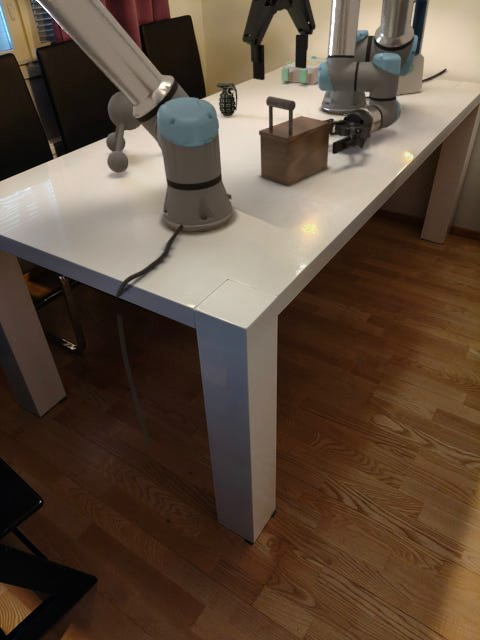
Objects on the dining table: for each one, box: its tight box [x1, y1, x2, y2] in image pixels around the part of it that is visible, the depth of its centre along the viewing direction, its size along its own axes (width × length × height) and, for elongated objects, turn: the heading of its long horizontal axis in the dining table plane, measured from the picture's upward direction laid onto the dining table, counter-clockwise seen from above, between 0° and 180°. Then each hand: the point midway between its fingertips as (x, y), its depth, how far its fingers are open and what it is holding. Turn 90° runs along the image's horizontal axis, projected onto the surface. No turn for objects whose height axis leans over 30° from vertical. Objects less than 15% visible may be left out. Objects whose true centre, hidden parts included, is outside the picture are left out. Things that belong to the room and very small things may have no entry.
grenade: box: [215, 82, 238, 117], centre depth 166 cm, size 7×6×10 cm
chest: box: [259, 127, 330, 186], centre depth 122 cm, size 15×9×10 cm, turn 134°
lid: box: [258, 95, 330, 143], centre depth 116 cm, size 16×9×8 cm, turn 134°
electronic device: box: [396, 0, 430, 96], centre depth 174 cm, size 12×8×30 cm, turn 105°
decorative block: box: [281, 55, 328, 85], centre depth 206 cm, size 26×6×20 cm
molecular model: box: [105, 90, 142, 174], centre depth 130 cm, size 24×22×30 cm
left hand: (280, 73), depth 108 cm, fingers open, 13 cm apart
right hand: (312, 142), depth 125 cm, fingers open, 13 cm apart
